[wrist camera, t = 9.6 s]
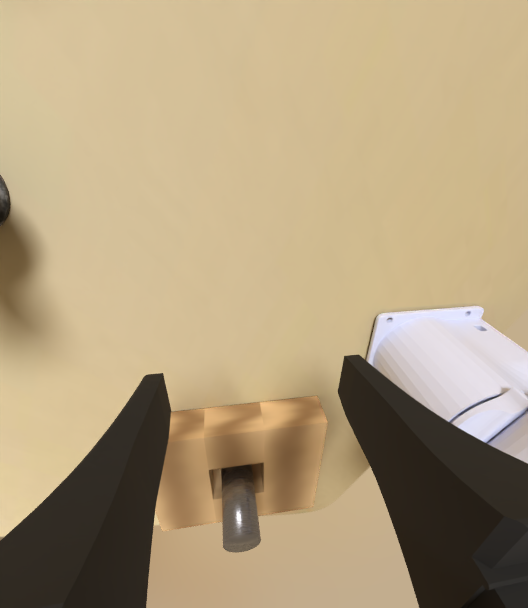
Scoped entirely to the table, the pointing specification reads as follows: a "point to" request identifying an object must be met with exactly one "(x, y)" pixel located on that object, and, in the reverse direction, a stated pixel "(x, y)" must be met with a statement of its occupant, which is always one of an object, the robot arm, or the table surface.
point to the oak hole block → (241, 458)
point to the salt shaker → (3, 201)
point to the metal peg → (239, 509)
